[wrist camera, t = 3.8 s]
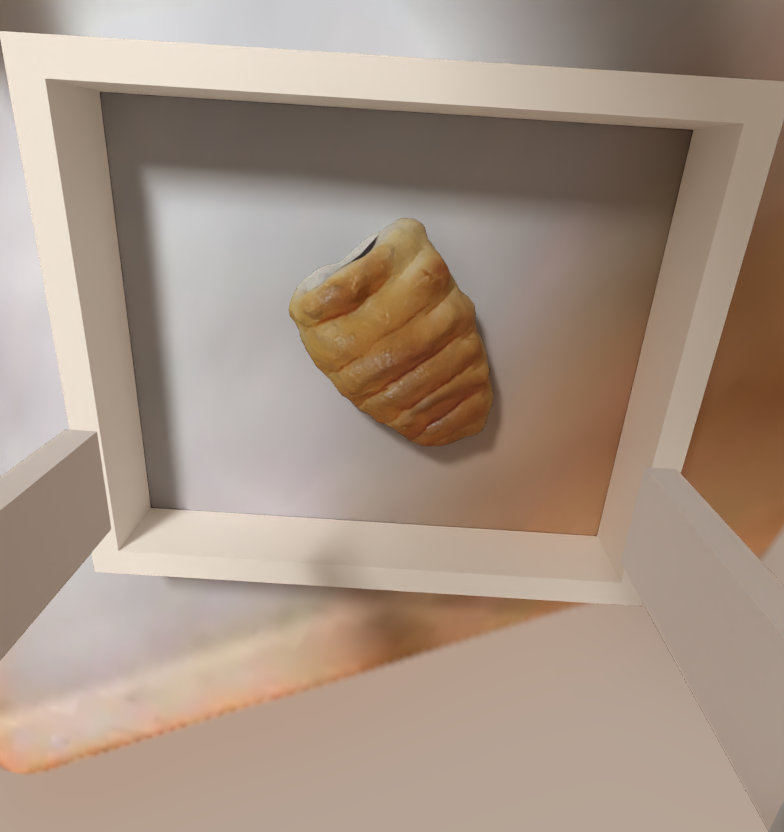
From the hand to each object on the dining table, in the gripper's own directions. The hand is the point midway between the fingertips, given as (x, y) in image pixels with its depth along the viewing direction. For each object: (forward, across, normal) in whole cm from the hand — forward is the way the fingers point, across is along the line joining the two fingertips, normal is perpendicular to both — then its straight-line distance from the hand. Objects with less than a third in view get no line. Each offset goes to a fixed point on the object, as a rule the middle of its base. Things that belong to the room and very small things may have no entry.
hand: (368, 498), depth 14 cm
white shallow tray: (+12, 0, 0) cm, 12 cm away
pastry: (+12, 0, +1) cm, 12 cm away
